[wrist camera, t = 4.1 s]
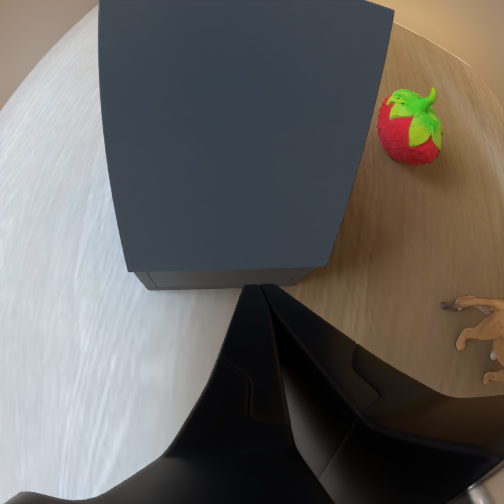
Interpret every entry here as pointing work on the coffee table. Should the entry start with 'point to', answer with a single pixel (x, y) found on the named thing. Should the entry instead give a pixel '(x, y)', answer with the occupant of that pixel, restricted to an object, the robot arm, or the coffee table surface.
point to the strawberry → (410, 127)
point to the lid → (236, 126)
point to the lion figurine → (484, 328)
